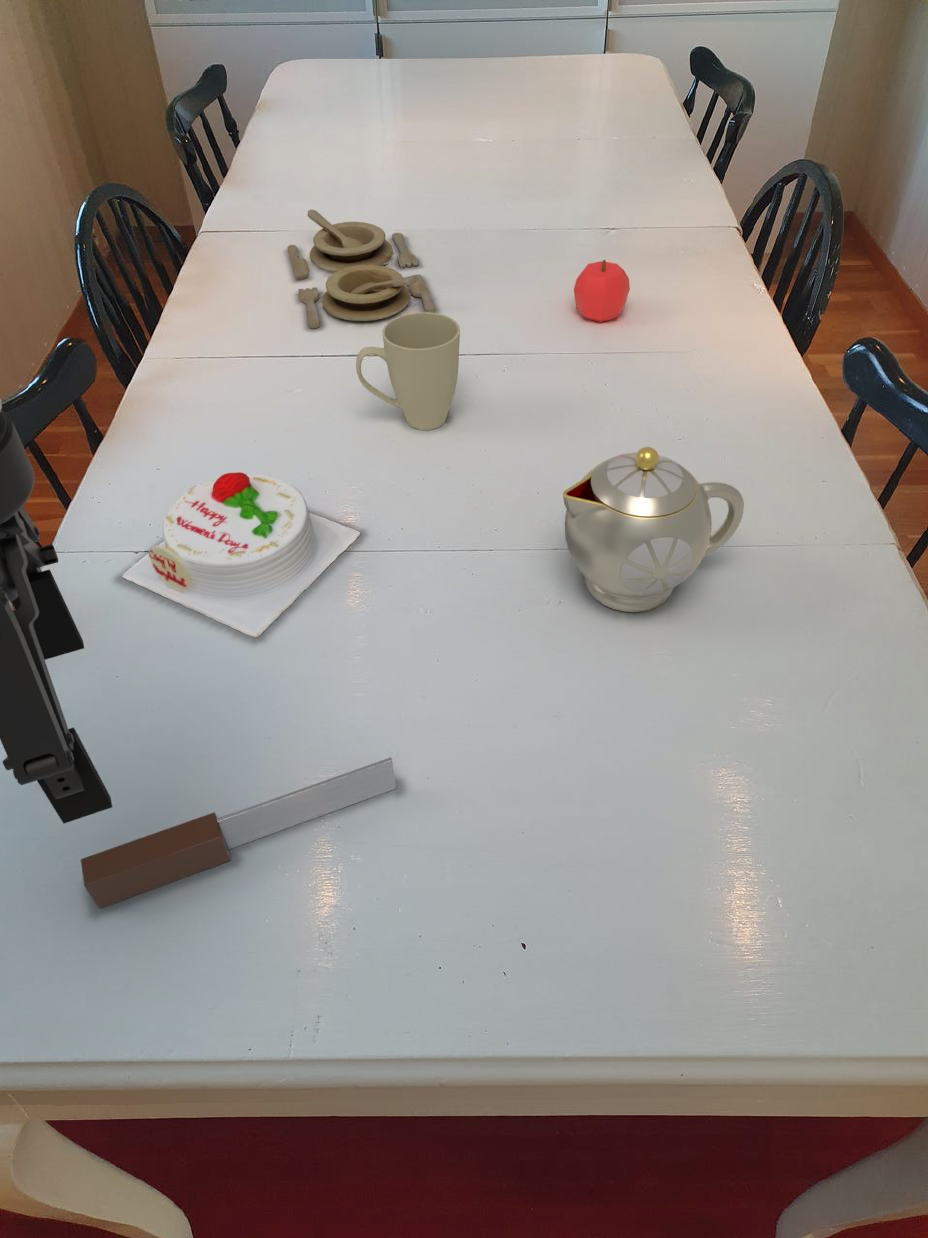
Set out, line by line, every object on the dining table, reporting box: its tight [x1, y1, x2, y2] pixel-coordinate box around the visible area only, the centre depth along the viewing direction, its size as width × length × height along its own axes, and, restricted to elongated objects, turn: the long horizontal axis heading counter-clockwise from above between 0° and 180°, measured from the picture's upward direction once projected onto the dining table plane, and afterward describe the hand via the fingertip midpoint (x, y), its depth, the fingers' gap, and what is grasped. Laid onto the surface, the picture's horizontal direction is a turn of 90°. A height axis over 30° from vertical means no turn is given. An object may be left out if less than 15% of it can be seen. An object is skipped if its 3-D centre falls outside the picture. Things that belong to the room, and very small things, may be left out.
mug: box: [355, 311, 461, 431], centre depth 109 cm, size 11×10×12 cm
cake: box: [121, 471, 361, 639], centre depth 93 cm, size 18×18×8 cm
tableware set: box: [287, 209, 436, 330], centre depth 139 cm, size 30×20×6 cm, turn 14°
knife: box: [80, 757, 397, 910], centre depth 70 cm, size 24×2×4 cm, turn 113°
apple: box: [573, 259, 631, 323], centre depth 129 cm, size 8×8×8 cm
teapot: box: [562, 446, 745, 613], centre depth 85 cm, size 18×14×16 cm
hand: (74, 724), depth 56 cm, fingers open, 13 cm apart
